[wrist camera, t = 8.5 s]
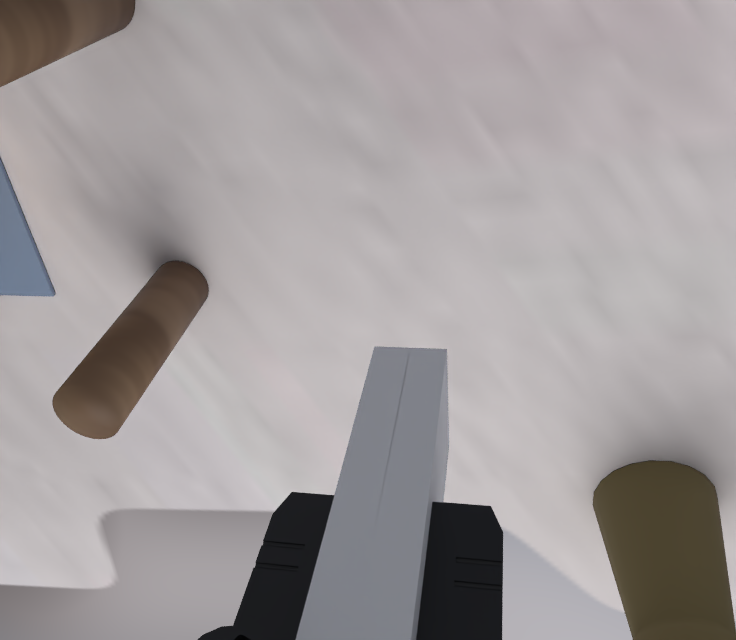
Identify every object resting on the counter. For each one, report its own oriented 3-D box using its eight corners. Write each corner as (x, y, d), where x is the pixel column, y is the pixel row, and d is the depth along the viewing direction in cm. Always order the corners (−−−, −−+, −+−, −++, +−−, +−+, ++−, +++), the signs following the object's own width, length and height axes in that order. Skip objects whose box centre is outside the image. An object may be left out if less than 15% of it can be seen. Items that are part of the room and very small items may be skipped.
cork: (608, 452, 33) (643, 670, 25) (735, 471, 33) (819, 702, 24) (581, 529, 37) (603, 744, 28) (695, 547, 36) (755, 774, 27)
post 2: (163, 306, 33) (66, 436, 26) (149, 260, 32) (42, 384, 24) (213, 308, 32) (128, 441, 25) (201, 261, 31) (108, 388, 24)
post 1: (81, 34, 26) (-86, 107, 19) (58, -42, 24) (-133, 5, 17) (143, 30, 25) (-4, 104, 18) (123, -48, 24) (-45, -1, 17)
